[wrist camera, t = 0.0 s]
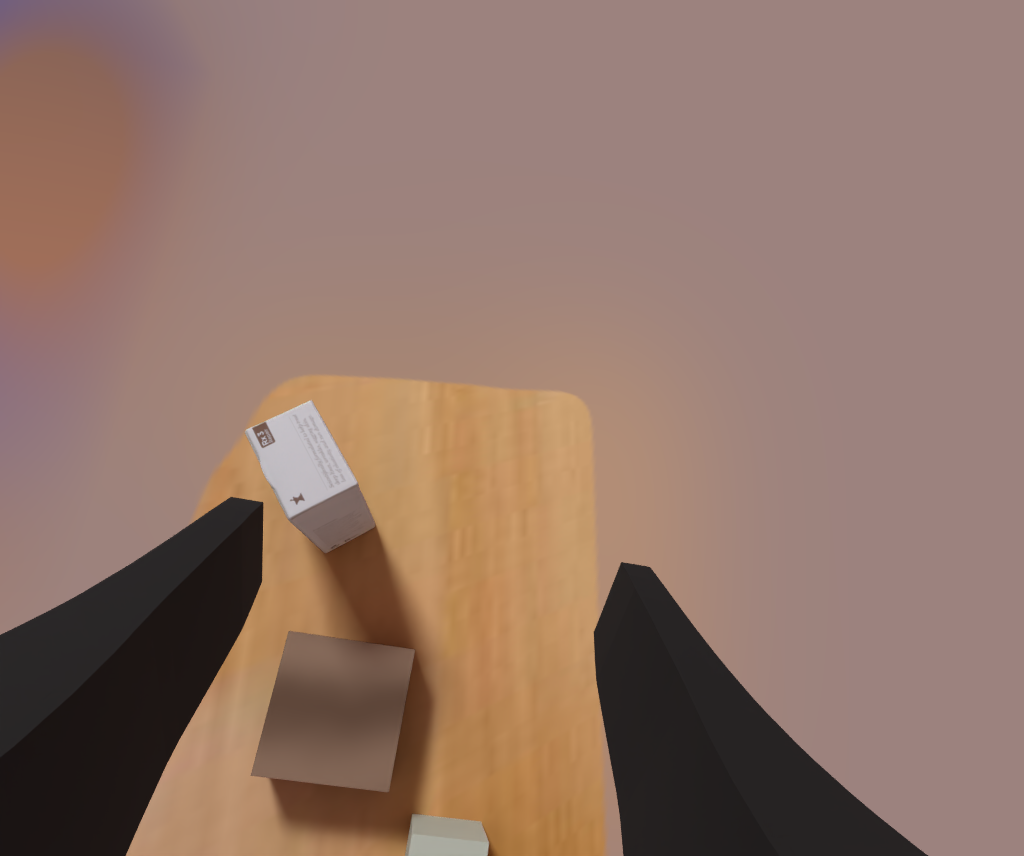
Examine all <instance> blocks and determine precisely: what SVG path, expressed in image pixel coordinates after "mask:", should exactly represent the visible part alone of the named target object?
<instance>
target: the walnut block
mask: <svg viewBox="0 0 1024 856" xmlns="http://www.w3.org/2000/svg"><path fill="white" fill-rule="evenodd" d="M414 653H415V649H409V648H402V647H395V646H388V645H381V644H375V643H368V642H361V641H354V640H348V639H341V638H334V637H327V636H320V635H314V634H307V633H300V632H293V631H289V632H288V636H287V640H286V643H285V647H284V651H283V655H282V659H281V662H280V666H279V670H278V674H277V678H276V681H275V685H274V689H273V693H272V697H271V700H270V704H269V708H268V712H267V716H266V719H265V723H264V727H263V731H262V735H261V738H260V742H259V746H258V750H257V753H256V757H255V761H254V765H253V769H252V772H251V776H258V777H266V778H274V779H282V780H291V781H299V782H307V783H315V784H323V785H332V786H340V787H348V788H356V789H365V790H373V791H381V792H389V788H390V783H391V777H392V772H393V766H394V761H395V756H396V750H397V745H398V740H399V734H400V729H401V723H402V718H403V713H404V707H405V702H406V696H407V691H408V686H409V680H410V675H411V669H412V664H413V659H414Z"/></svg>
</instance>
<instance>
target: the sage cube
mask: <svg viewBox="0 0 1024 856" xmlns="http://www.w3.org/2000/svg"><path fill="white" fill-rule="evenodd" d="M488 847H489V841H488V839H487V836H486V834H485V831H484V828H483V826H482V823H481V822H480V821H471V820H463V819H454V818H445V817H437V816H428V815H420V814H412V817H411V823H410V829H409V835H408V841H407V847H406V853H405V856H487V855H488Z"/></svg>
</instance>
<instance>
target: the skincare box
mask: <svg viewBox="0 0 1024 856" xmlns="http://www.w3.org/2000/svg"><path fill="white" fill-rule="evenodd" d="M245 434H246V436H247V438H248V440H249V442H250V444H251V446H252V448H253V450H254V452H255V454H256V456H257V458H258V460H259V462H260V464H261V468H262V471H263V473H264V475H265V477H266V479H267V481H268V482H269V484H270V485H271V487H272V489H273V491H274V493H275V495H276V497H277V499H278V501H279V503H280V505H281V507H282V509H283V511H284V512H285V515H286V517H287V518H288V520H289V521H290V522H291V523H292V524H293V525H294V526H295V527H296V528H298V529H299V530H300V531H301V532H302V533H303V534H304V535H306V536H307V537H308V538H309V539H310V540H311V541H312V542H313V543H314V544H315V545H316V546H317V547H318V548H319V549H321V550H322V551H323V552H324V553H328V552H330V551H332V550H333V549H335V548H337V547H339V546H341V545H343V544H345V543H347V542H348V541H350V540H352V539H354V538H356V537H358V536H360V535H361V534H363V533H365V532H367V531H369V530H370V529H372V528H374V527H375V522H374V519H373V517H372V515H371V513H370V510H369V508H368V506H367V503H366V501H365V499H364V497H363V495H362V492H361V491H360V488H359V485H358V482H357V480H356V478H355V477H354V475H353V473H352V471H351V469H350V468H349V466H348V464H347V462H346V460H345V459H344V457H343V455H342V453H341V451H340V450H339V448H338V446H337V444H336V442H335V441H334V439H333V437H332V435H331V433H330V432H329V430H328V428H327V426H326V424H325V423H324V421H323V419H322V417H321V416H320V414H319V412H318V410H317V409H316V407H315V405H314V403H313V401H311V400H310V401H308V402H306V403H304V404H302V405H299V406H297V407H295V408H293V409H291V410H289V411H286V412H284V413H282V414H280V415H278V416H276V417H273V418H271V419H269V420H267V421H265V422H262V423H260V424H258V425H256V426H254V427H251V428H249V429H247V430H246V431H245Z"/></svg>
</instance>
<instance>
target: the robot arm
mask: <svg viewBox="0 0 1024 856" xmlns="http://www.w3.org/2000/svg"><path fill="white" fill-rule="evenodd" d="M262 551H263V502H258V501H252V500H246V499H240V498H234V497H230V498H229V499H227V500H226V501H224V502H223V503H221V504H220V505H218V506H217V507H215V508H214V509H212V510H211V511H209V512H208V513H206V514H205V515H203V516H202V517H200V518H199V519H198V520H196V521H195V522H193V523H192V524H190V525H189V526H187V527H186V528H185V529H183V530H181V531H180V532H179V533H177V534H176V535H174V536H173V537H171V538H170V539H168V540H167V541H165V542H164V543H162V544H161V545H159V546H157V547H156V548H154V549H153V550H151V551H150V552H148V553H147V554H145V555H144V556H142V557H141V558H139V559H138V560H136V561H134V562H133V563H131V564H130V565H128V566H126V567H125V568H123V569H122V570H120V571H118V572H117V573H115V574H113V575H111V576H110V577H108V578H106V579H105V580H103V581H101V582H100V583H98V584H96V585H95V586H93V587H91V588H90V589H88V590H86V591H85V592H83V593H81V594H79V595H78V596H76V597H74V598H72V599H70V600H69V601H67V602H65V603H63V604H61V605H59V606H57V607H56V608H54V609H52V610H50V611H48V612H46V613H44V614H42V615H40V616H38V617H36V618H34V619H32V620H30V621H28V622H26V623H24V624H22V625H20V626H18V627H16V628H14V629H12V630H10V631H8V632H5V633H3V634H1V635H0V856H126V853H127V851H128V849H129V847H130V844H131V842H132V840H133V837H134V835H135V833H136V831H137V828H138V826H139V824H140V821H141V819H142V817H143V815H144V813H145V810H146V808H147V806H148V804H149V802H150V800H151V797H152V795H153V793H154V791H155V789H156V786H157V784H158V782H159V780H160V778H161V775H162V773H163V771H164V769H165V767H166V764H167V763H168V761H169V759H170V757H171V755H172V753H173V751H174V749H175V747H176V745H177V743H178V741H179V739H180V738H181V736H182V734H183V732H184V731H185V729H186V727H187V725H188V724H189V722H190V720H191V718H192V717H193V715H194V713H195V711H196V710H197V708H198V706H199V704H200V703H201V701H202V699H203V697H204V696H205V694H206V692H207V690H208V689H209V687H210V685H211V683H212V682H213V680H214V678H215V676H216V675H217V673H218V671H219V669H220V668H221V666H222V664H223V662H224V661H225V659H226V657H227V655H228V654H229V652H230V650H231V648H232V646H233V645H234V643H235V641H236V639H237V637H238V636H239V634H240V632H241V630H242V628H243V626H244V624H245V621H246V619H247V617H248V614H249V612H250V610H251V607H252V605H253V602H254V600H255V597H256V595H257V593H258V590H259V588H260V585H261V583H262ZM594 646H595V666H596V681H597V687H598V693H599V699H600V704H601V710H602V716H603V721H604V727H605V732H606V738H607V743H608V749H609V754H610V760H611V765H612V771H613V776H614V781H615V787H616V792H617V799H618V806H619V813H620V821H621V832H622V844H623V854H624V856H928V855H926V854H925V853H924V852H922V851H921V850H920V849H918V848H917V847H916V846H915V845H913V844H912V843H911V842H910V841H908V840H907V839H906V838H904V837H903V836H902V835H901V834H899V833H898V832H897V831H896V830H895V829H893V828H892V827H891V826H890V825H888V824H887V823H886V822H884V821H883V820H882V819H881V818H880V817H878V816H877V815H876V814H875V813H874V812H872V811H871V810H870V809H869V808H867V807H866V806H865V805H864V804H863V803H862V802H860V801H859V800H858V799H857V798H856V797H854V796H853V795H852V794H851V793H850V792H849V791H848V790H846V789H845V788H844V787H843V786H842V785H841V784H840V783H839V782H838V781H837V780H835V779H834V778H833V777H832V776H831V775H830V774H829V773H828V772H827V771H825V770H824V769H823V768H822V767H821V766H820V765H819V764H818V763H816V762H815V761H814V760H813V759H812V758H811V757H810V756H809V755H808V754H807V753H806V752H805V751H804V750H803V749H802V748H801V747H800V746H799V745H798V744H796V742H794V741H793V739H792V738H791V737H789V735H788V734H787V733H786V732H785V731H784V730H783V729H782V728H781V727H780V726H779V725H778V724H777V723H776V722H775V721H774V720H773V719H772V718H771V717H770V716H769V715H768V714H767V713H766V712H765V711H764V710H763V708H762V707H761V706H760V705H759V704H758V703H757V702H756V701H755V700H754V699H753V698H752V696H751V695H750V694H749V693H748V692H747V691H746V690H745V688H744V687H743V686H742V685H741V684H740V683H739V681H738V680H737V679H736V678H735V677H734V676H733V674H732V673H731V672H730V671H729V670H728V669H727V667H726V666H725V665H724V664H723V663H722V661H721V660H720V659H719V658H718V656H717V655H716V654H715V653H714V652H713V650H712V649H711V648H710V646H709V645H708V644H707V643H706V641H705V640H704V639H703V637H702V636H701V635H700V633H699V632H698V631H697V630H696V628H695V627H694V626H693V624H692V623H691V622H690V620H689V619H688V618H687V616H686V615H685V614H684V612H683V611H682V610H681V608H680V607H679V605H678V604H677V603H676V602H675V600H674V599H673V598H672V596H671V595H670V593H669V592H668V591H667V589H666V588H665V587H664V585H663V584H662V582H661V581H660V580H659V578H658V577H657V576H656V574H655V573H654V572H653V570H652V569H651V568H650V567H647V566H641V565H635V564H629V563H623V562H622V563H621V565H620V567H619V570H618V572H617V575H616V577H615V580H614V582H613V585H612V588H611V590H610V593H609V595H608V598H607V600H606V603H605V606H604V608H603V611H602V613H601V616H600V618H599V621H598V623H597V626H596V628H595V631H594Z"/></svg>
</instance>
